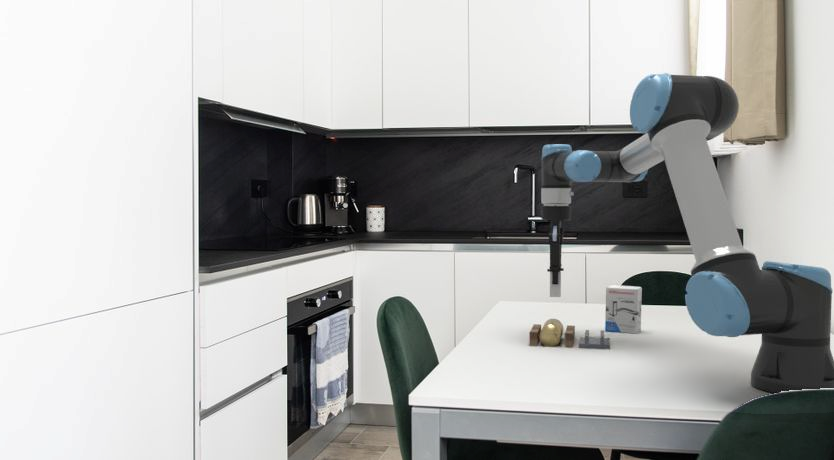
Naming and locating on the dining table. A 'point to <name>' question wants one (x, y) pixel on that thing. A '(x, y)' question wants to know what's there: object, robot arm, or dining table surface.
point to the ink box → (623, 309)
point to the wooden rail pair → (537, 329)
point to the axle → (551, 332)
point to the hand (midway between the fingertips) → (555, 296)
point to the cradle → (594, 341)
